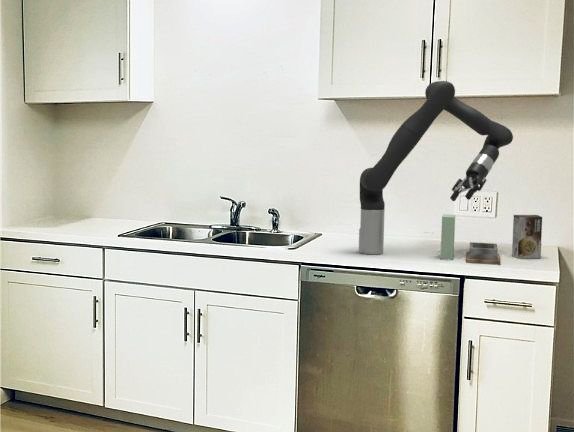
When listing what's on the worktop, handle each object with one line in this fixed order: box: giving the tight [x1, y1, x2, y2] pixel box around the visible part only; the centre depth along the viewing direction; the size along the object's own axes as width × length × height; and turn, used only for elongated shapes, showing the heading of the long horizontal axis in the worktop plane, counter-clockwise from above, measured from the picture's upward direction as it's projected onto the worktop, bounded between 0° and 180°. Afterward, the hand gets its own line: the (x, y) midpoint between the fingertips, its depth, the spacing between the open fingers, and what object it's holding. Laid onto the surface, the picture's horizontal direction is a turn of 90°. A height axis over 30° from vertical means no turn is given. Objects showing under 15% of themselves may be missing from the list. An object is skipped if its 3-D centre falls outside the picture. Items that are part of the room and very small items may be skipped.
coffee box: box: [511, 214, 543, 259], centre depth 259 cm, size 9×6×16 cm
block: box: [440, 213, 456, 261], centre depth 256 cm, size 4×9×16 cm, turn 164°
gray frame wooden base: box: [465, 241, 501, 266], centre depth 253 cm, size 12×18×5 cm, turn 164°
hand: (459, 199), depth 259 cm, fingers open, 8 cm apart
